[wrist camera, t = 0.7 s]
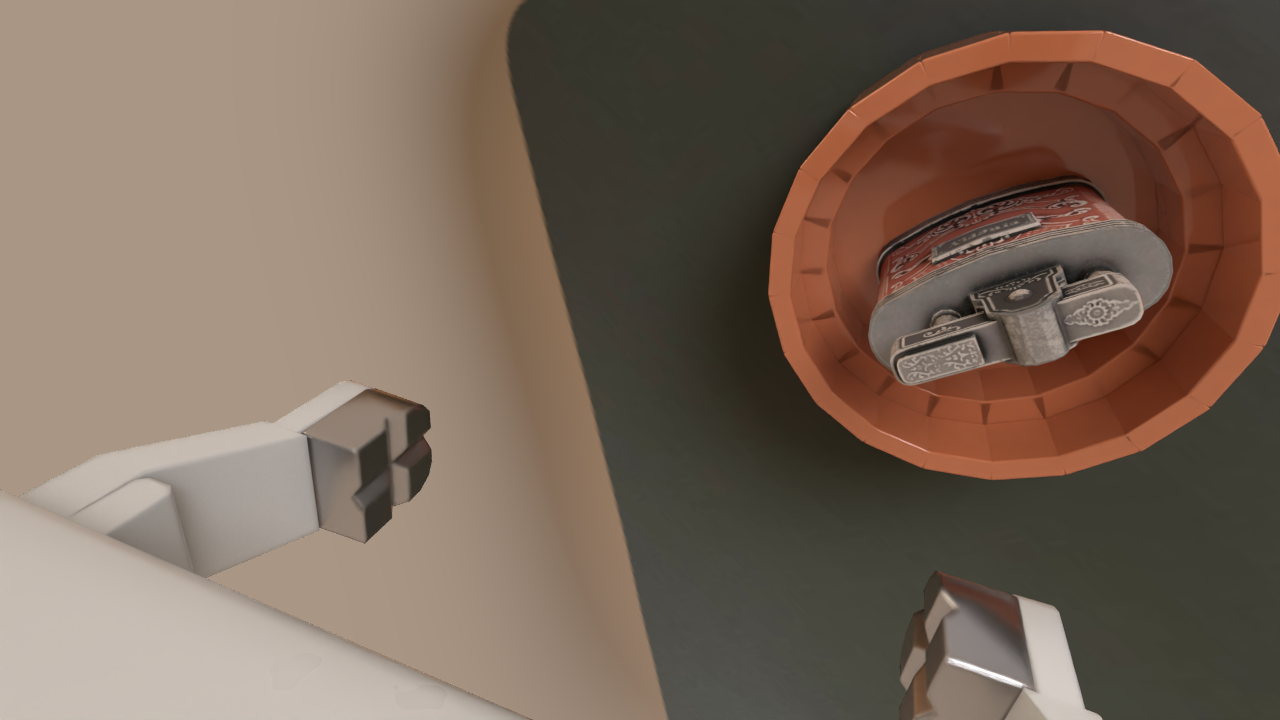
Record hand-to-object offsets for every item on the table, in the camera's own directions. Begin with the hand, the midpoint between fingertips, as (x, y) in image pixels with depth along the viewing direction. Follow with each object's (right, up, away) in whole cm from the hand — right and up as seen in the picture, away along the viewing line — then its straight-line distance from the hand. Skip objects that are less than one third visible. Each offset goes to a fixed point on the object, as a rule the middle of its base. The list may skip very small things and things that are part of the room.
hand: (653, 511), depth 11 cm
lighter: (+13, +7, +16) cm, 22 cm away
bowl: (+13, +7, +16) cm, 22 cm away
